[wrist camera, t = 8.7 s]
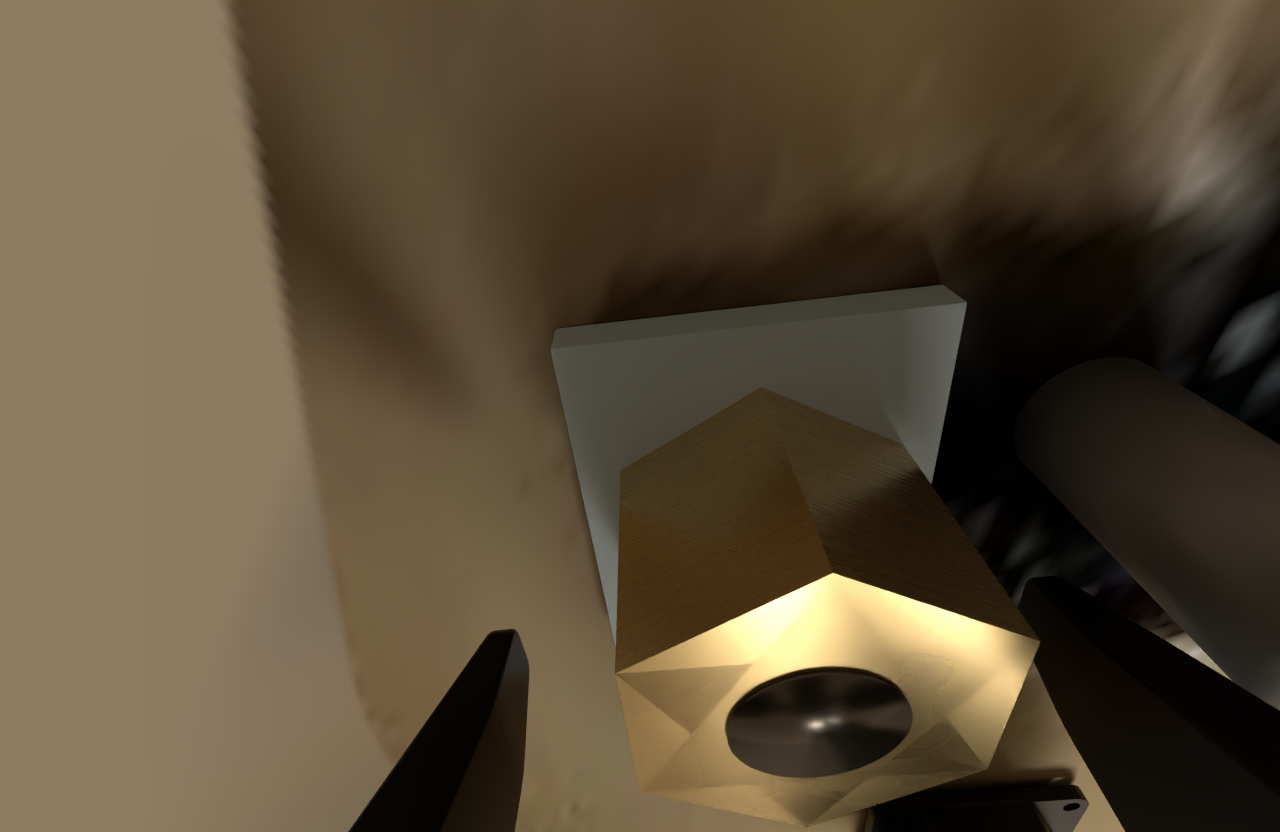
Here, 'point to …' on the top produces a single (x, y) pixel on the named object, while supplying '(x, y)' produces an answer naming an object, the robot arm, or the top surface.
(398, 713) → the top surface
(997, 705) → the hex nut
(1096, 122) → the top surface
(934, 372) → the pad
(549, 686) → the top surface
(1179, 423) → the spacer field
